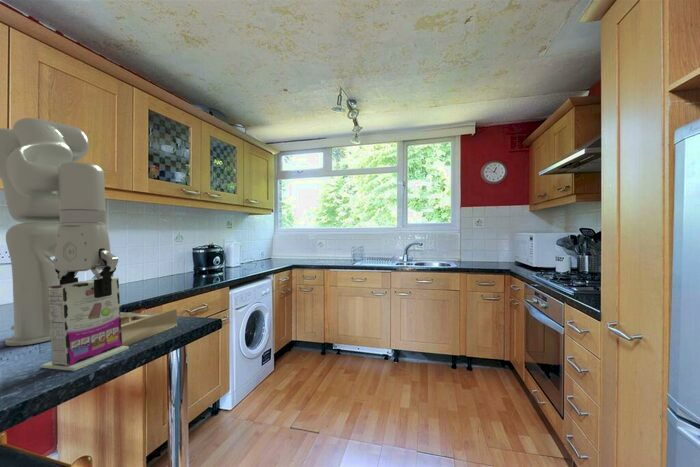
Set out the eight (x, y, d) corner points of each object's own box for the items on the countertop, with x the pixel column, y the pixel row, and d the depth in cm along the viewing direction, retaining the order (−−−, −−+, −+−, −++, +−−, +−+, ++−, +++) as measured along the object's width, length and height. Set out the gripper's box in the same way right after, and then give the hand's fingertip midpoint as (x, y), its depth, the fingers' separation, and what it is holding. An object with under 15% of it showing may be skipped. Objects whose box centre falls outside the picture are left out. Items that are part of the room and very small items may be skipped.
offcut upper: (112, 328, 75) (112, 319, 75) (115, 323, 80) (114, 314, 80) (129, 325, 77) (129, 316, 77) (131, 320, 82) (130, 312, 82)
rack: (74, 344, 72) (73, 324, 72) (135, 324, 88) (135, 308, 88) (122, 347, 69) (121, 326, 69) (177, 325, 84) (176, 309, 84)
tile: (41, 367, 59) (41, 364, 59) (99, 346, 70) (99, 344, 70) (74, 370, 57) (74, 367, 57) (128, 348, 68) (128, 346, 68)
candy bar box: (106, 344, 69) (104, 277, 69) (122, 345, 68) (120, 277, 68) (49, 365, 58) (46, 285, 58) (67, 367, 57) (64, 285, 57)
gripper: (33, 220, 62) (35, 299, 62) (95, 216, 58) (98, 301, 58) (73, 221, 69) (76, 292, 69) (131, 218, 65) (133, 293, 65)
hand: (86, 296), depth 63 cm, fingers open, 9 cm apart
